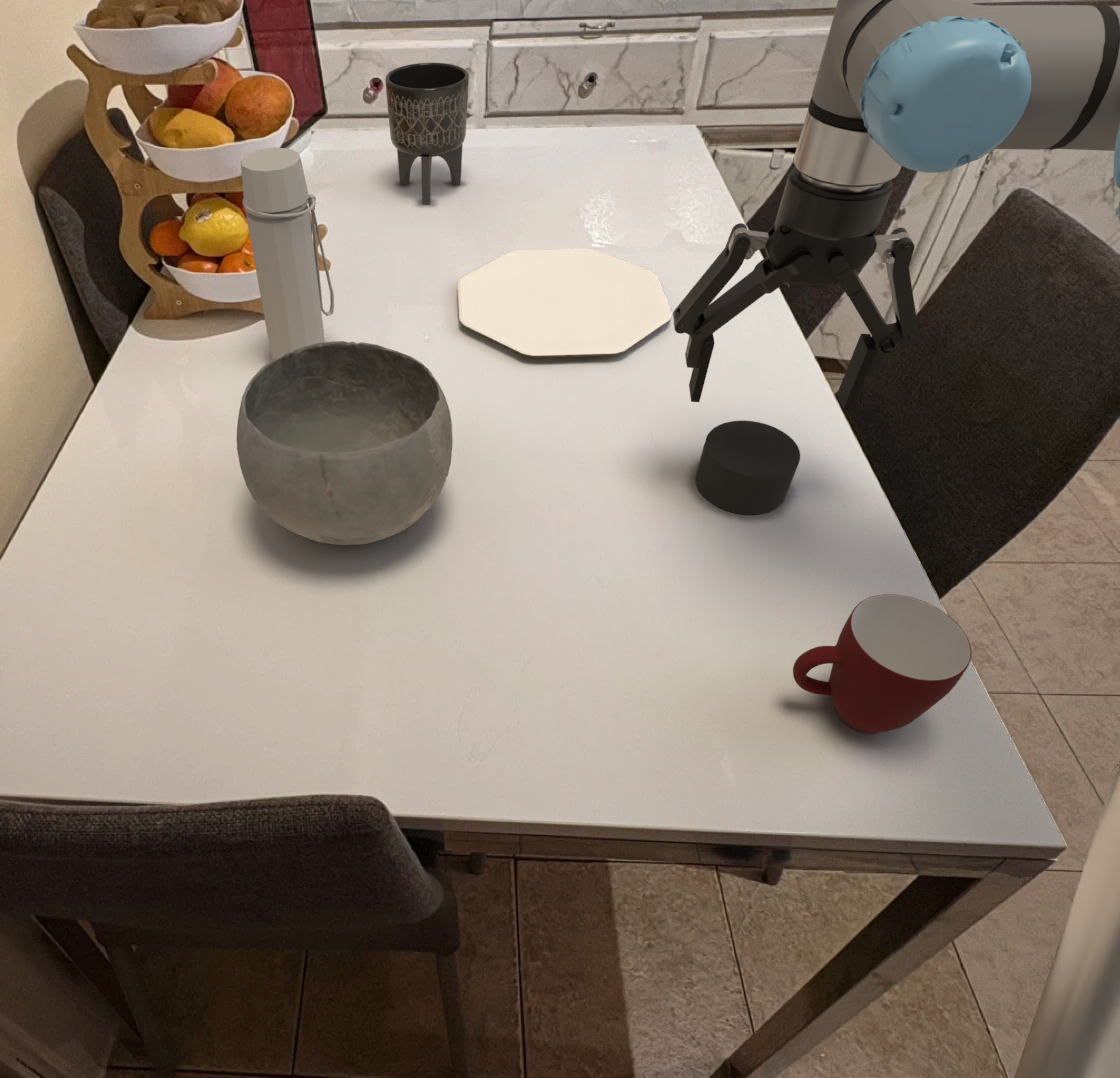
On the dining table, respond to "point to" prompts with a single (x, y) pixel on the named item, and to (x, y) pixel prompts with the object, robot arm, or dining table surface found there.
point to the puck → (747, 467)
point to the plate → (562, 302)
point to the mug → (888, 662)
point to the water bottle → (284, 248)
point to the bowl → (344, 441)
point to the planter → (428, 118)
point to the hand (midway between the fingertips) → (768, 398)
